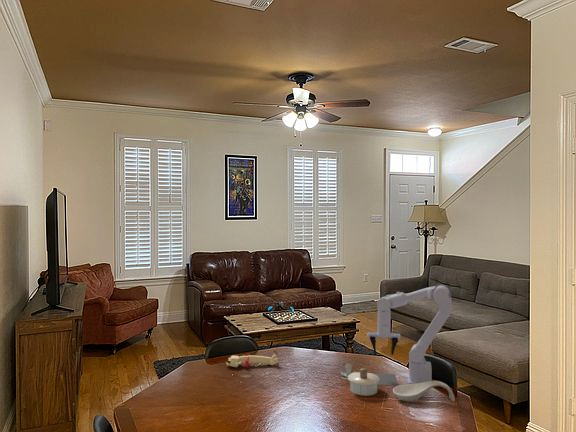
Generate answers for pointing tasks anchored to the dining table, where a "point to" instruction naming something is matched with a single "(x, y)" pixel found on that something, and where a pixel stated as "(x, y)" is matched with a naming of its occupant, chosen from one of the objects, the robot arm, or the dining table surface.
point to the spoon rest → (418, 390)
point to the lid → (363, 377)
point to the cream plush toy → (252, 360)
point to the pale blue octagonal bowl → (363, 389)
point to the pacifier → (347, 371)
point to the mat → (386, 379)
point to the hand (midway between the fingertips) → (383, 353)
